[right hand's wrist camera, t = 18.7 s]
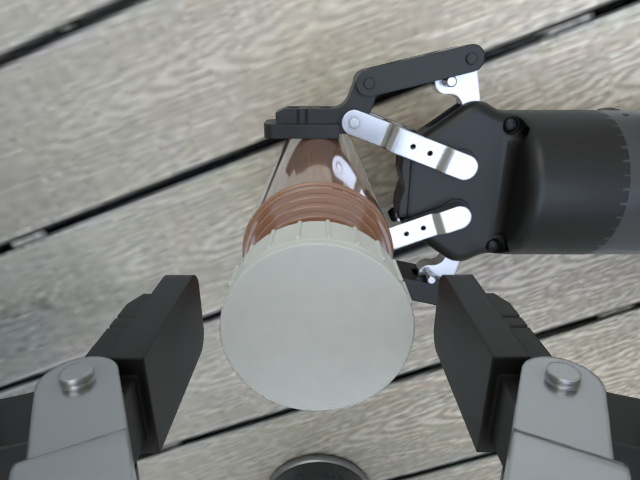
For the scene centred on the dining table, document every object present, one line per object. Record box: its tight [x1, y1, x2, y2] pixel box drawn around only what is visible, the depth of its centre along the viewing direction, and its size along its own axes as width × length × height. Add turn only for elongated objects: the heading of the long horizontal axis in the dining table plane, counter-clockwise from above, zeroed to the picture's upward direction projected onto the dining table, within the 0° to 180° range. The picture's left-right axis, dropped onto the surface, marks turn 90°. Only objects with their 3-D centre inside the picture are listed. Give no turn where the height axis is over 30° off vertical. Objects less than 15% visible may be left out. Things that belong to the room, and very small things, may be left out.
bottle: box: [243, 134, 393, 260], centre depth 21 cm, size 5×5×20 cm
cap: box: [220, 220, 415, 411], centre depth 11 cm, size 5×5×2 cm
